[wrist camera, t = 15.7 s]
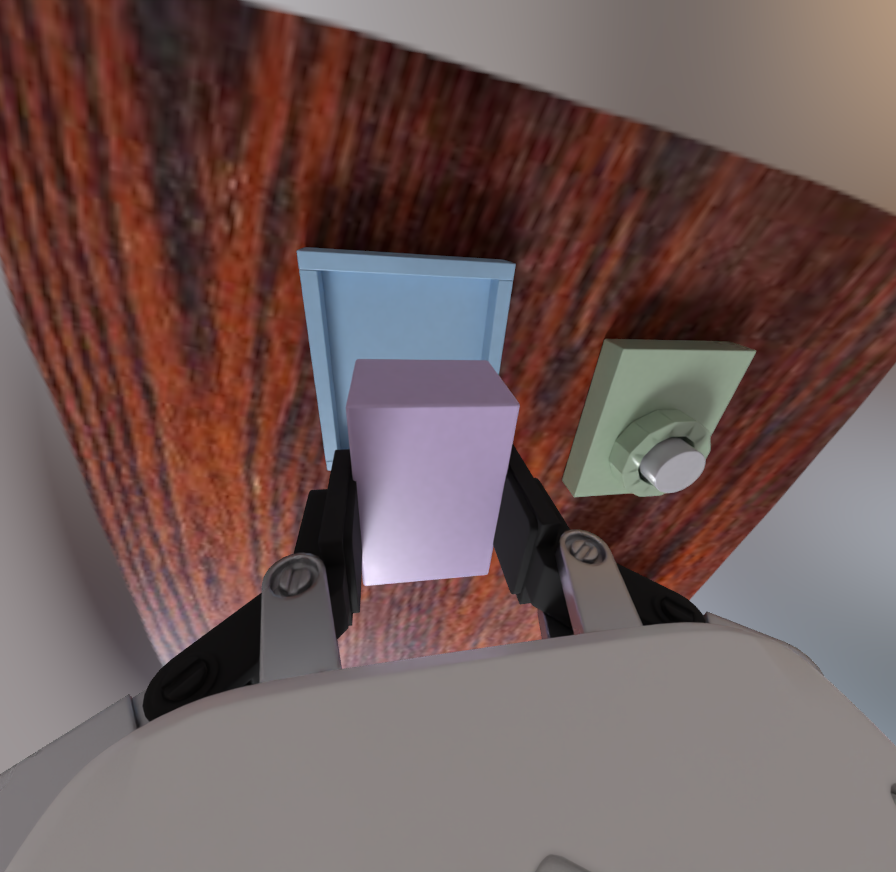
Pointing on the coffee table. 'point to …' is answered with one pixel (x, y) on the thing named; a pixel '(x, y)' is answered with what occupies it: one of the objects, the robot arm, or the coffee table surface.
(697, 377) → the green push button box
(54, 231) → the coffee table surface
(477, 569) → the soap bar
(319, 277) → the soap dish
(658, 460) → the grey push button
